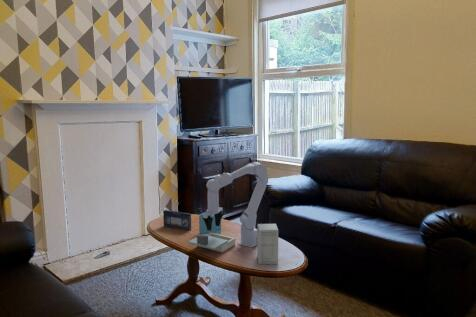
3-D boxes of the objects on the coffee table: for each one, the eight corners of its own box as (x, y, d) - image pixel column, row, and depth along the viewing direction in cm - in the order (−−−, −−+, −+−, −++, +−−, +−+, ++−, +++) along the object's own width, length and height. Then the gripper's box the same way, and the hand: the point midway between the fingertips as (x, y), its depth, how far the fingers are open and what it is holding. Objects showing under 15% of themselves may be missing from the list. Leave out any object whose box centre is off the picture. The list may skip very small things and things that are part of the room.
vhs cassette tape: (163, 226, 228) (162, 210, 227) (166, 225, 231) (165, 209, 229) (188, 231, 220) (188, 214, 219) (191, 229, 223) (191, 213, 221)
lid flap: (228, 241, 192) (228, 232, 192) (213, 249, 182) (213, 240, 181) (202, 235, 201) (202, 227, 200) (187, 242, 191) (187, 233, 190)
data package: (221, 235, 214) (221, 214, 212) (217, 237, 210) (217, 216, 209) (203, 231, 220) (203, 211, 218) (199, 234, 216) (198, 213, 214)
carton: (235, 245, 199) (235, 238, 198) (222, 253, 189) (222, 245, 188) (210, 239, 207) (210, 232, 207) (197, 246, 197) (197, 238, 197)
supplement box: (275, 256, 186) (276, 223, 183) (278, 264, 176) (279, 229, 174) (256, 256, 185) (257, 223, 183) (258, 264, 176) (258, 229, 174)
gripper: (215, 198, 201) (215, 222, 203) (198, 204, 189) (198, 230, 191) (226, 200, 198) (226, 225, 200) (209, 206, 185) (210, 233, 187)
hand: (213, 228), depth 195 cm, fingers open, 7 cm apart
